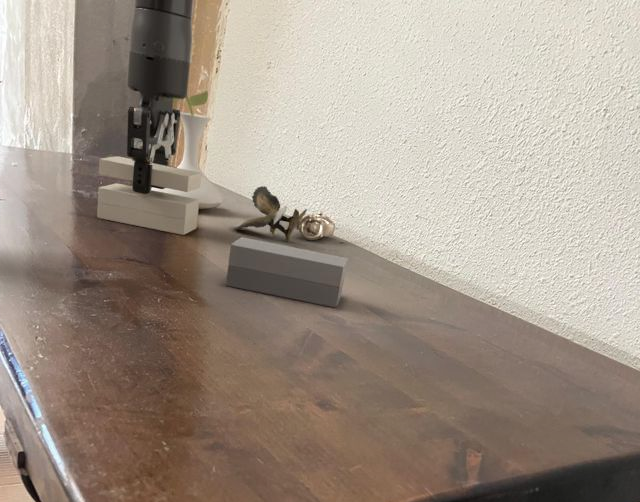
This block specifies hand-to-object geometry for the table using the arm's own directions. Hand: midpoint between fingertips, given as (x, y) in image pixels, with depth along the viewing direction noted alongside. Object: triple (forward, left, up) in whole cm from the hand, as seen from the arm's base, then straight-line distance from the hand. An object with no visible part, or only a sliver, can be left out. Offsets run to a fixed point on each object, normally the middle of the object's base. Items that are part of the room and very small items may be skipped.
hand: (149, 189), depth 100 cm
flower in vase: (-1, +19, -5) cm, 20 cm away
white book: (0, 0, +1) cm, 1 cm away
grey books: (+23, -22, -4) cm, 32 cm away
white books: (0, 0, -4) cm, 4 cm away
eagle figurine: (+15, +8, -5) cm, 18 cm away
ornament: (+21, +14, -5) cm, 26 cm away
